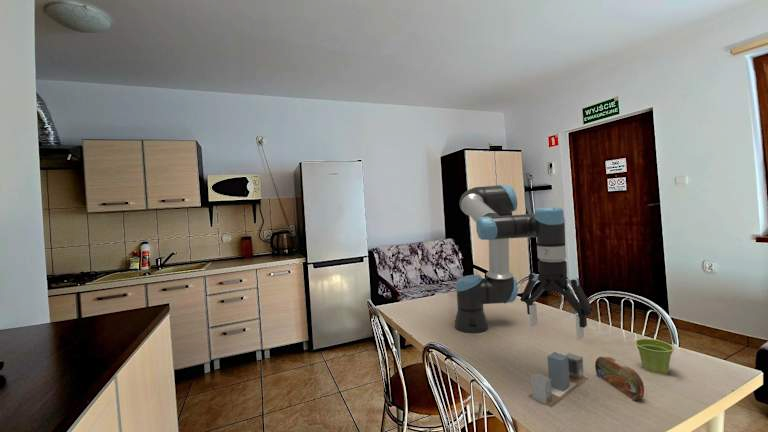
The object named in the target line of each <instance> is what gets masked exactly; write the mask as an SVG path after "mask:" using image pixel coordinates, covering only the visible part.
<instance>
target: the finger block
mask: <svg viewBox="0 0 768 432" xmlns="http://www.w3.org/2000/svg"><path fill="white" fill-rule="evenodd" d="M566 355H567V354H562V353H558V352H555V351H553V352H552V353H550V354H548V355H547V367H548V369H547V370H548V378H550V379H551V387H553V388H555V389H558V390H560V391H565V390H566V389H567V388H569V387H570V382H569V364H568V356H566Z"/></svg>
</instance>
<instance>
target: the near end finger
mask: <svg viewBox="0 0 768 432" xmlns="http://www.w3.org/2000/svg"><path fill="white" fill-rule="evenodd" d="M530 384H531V393H532V398H531V399H533V400H534V401H536V402H539V403H541V402H542V403H541V404H543V403H544V405H545V404H546V406H548V405H547V404H548V403H549V402H551V401H552V391H551V379H550V378H549V377H547V376H544V375H542V374H539V373H535V374H533V375H532V376H531V377H530Z"/></svg>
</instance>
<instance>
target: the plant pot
mask: <svg viewBox="0 0 768 432" xmlns="http://www.w3.org/2000/svg"><path fill="white" fill-rule="evenodd" d="M634 343H635V345H636V346H637V350H638V352H639V356H640V361H641V365H642V368H643V369H645V370H648V371H649V372H653V373H658V374H659V373H660V374H663V375H666V376H668V375H669V368H670V362H671V356H672V354H673V351H674V350H675V347H674V346H673V345H672V344H670V343H668V342H665V341H662V340H659V339H652V338H639V339H636V340H635V342H634Z"/></svg>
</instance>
